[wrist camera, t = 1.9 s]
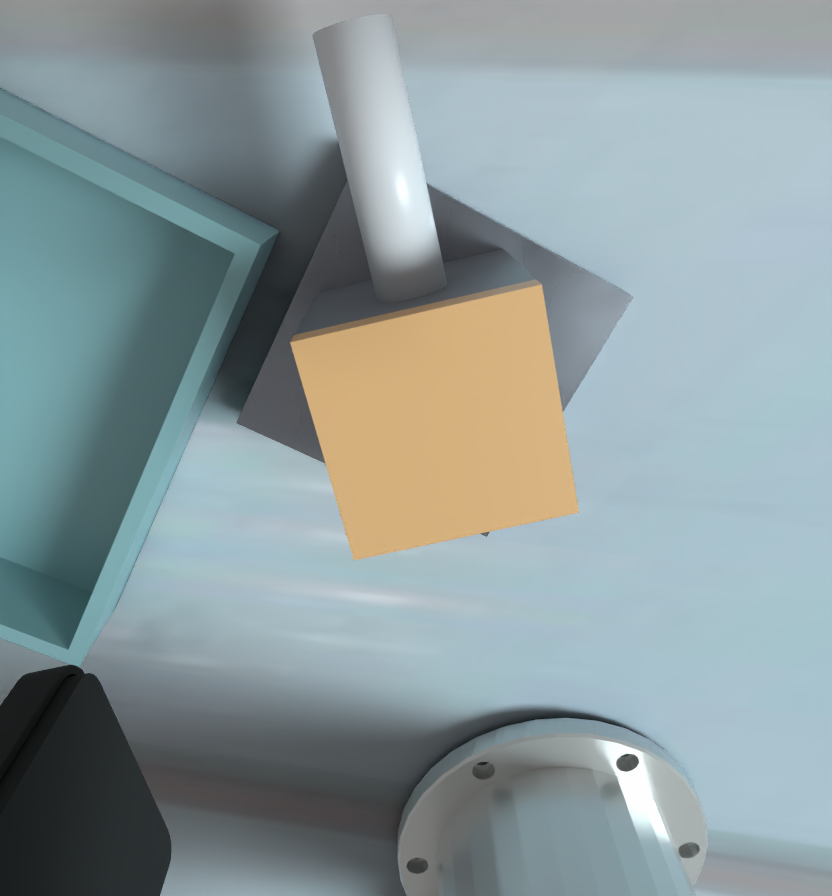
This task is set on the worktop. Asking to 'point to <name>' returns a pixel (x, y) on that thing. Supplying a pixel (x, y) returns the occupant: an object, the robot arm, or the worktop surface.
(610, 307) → the grey piece
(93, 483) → the bin
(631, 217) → the worktop surface
